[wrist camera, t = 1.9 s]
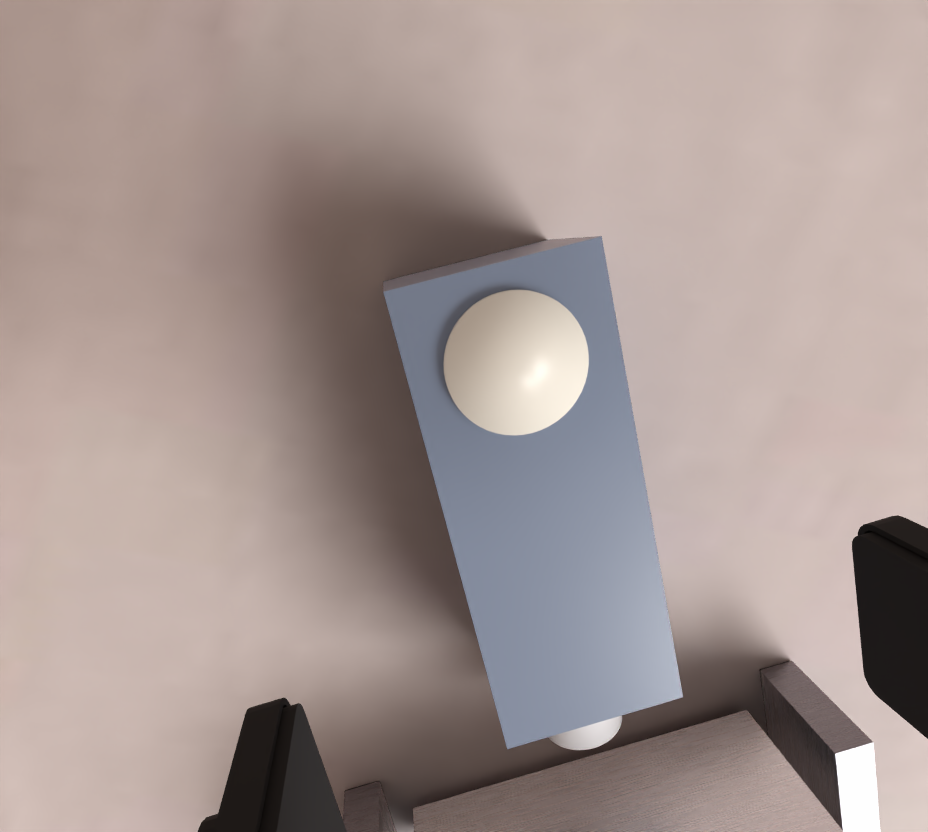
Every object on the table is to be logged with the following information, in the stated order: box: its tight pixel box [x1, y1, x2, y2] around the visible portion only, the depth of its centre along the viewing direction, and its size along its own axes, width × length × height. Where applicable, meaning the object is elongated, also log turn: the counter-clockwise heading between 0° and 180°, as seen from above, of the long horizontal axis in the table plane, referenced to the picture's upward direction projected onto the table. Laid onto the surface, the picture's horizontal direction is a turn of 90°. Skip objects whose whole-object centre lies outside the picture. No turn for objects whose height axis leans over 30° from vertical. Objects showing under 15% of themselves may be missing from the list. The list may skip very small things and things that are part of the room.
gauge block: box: [383, 236, 683, 750], centre depth 18 cm, size 5×14×5 cm, turn 13°
